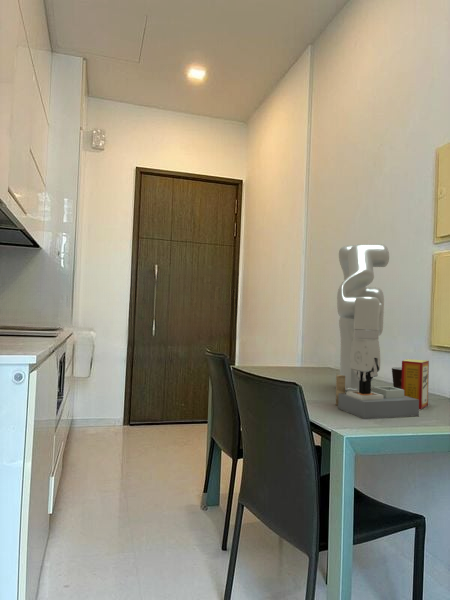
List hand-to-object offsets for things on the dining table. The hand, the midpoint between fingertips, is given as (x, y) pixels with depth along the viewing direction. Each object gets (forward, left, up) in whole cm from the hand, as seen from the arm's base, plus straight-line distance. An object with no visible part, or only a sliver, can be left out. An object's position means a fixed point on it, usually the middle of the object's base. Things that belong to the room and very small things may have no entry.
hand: (364, 393), depth 141 cm
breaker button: (0, 0, -4) cm, 4 cm away
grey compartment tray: (0, +5, -6) cm, 8 cm away
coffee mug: (-25, +38, -6) cm, 46 cm away
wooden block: (-12, -1, -6) cm, 14 cm away
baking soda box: (-6, +25, -7) cm, 27 cm away
